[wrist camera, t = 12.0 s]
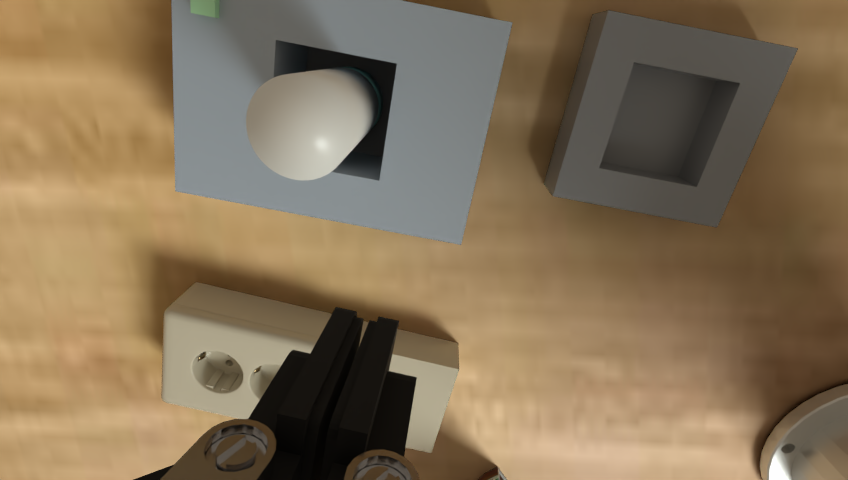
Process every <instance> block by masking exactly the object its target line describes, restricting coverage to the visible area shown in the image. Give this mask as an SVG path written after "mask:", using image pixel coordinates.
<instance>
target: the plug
mask: <svg viewBox="0 0 848 480" xmlns="http://www.w3.org/2000/svg"><path fill="white" fill-rule="evenodd" d="M382 110H383V96H382V92H381V89H380V87H379V85H378V83H377V82H376V80H375V79H374V78H373V77H372V76H371V75H370V74H369V73H367V72H366V71H364V70H362V69H360V68H357V67H351V66H345V67H337V68H329V69H322V70H314V71H307V72H299V73H291V74H285V75H280V76H277V77H274V78H272V79H270V80H268V81H267V82H265V83H264V84H263V85H262V86H260V87H259V88H258V90H257V91H256V92H255V93H254V95H253V97H252V98H251V100H250V103H249V106H248V109H247V114H246V129H247V135H248V138H249V141H250V144H251V146H252V148H253V150H254V151H255V153H256V155H257V156H258V157H259V159H260V160H261V161H262V162H263V163H264V164H265V165H266V166H267V167H268V168H270V169H271V170H272V171H274V172H275V173H277V174H279V175H281V176H284V177H286V178H289V179H294V180H301V181H303V180H314V179H318V178H321V177H323V176H325V175H327V174H329V173H330V172H332V171H333V170H334V169H335V168H337V166H338V165H339V164H340V163H341V162H342V161H343V160H344V159H345V158H346V156H347V155H348V154H349V153H350V152H351V151H352V150H353V149H354V148H355V147H356V145H357V144H358V143H359V142H360V141H361V140H362V139H363V138H364V137H365V135H366V134H367V133H368V132H369V131H370V130H371V129H372V128H373V127H374V126H375V124H376V123H377V122H378V120H379V118H380V116H381V113H382Z"/></svg>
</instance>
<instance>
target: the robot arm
mask: <svg viewBox="0 0 848 480" xmlns="http://www.w3.org/2000/svg"><path fill="white" fill-rule="evenodd" d="M398 324H399V321H397V320H392V319H388V318H383V317H378V320H377V322H376V321H371V320H369V323H368V325H367V328H366V330H365V333H364V335H363V338H362V340H361V343H360V338H361V332H362V327H363V319H362V318H357V312H356V311H352V310H347V309H342V308H338V307H336V308H335V310H334V311H333V313H332V315H331V317H330V319H329V320H328V322H327V324H326V326H325V328H324V330H323V331H322V333H321V335H320V337H319V339H318V340H317V342H316V344H315V346H314V348H313V350H312V351H311V353H306V352H301V351H297V350H292V351H291V352H290V353H289V354H288V356H287V357H286V359H285V361H284V362H283V364H282V365H281V367H280V369H279V370H278V372H277V373H276V375H275V377H274V378H273V380H272V381H271V383H270V385H269V386H268V388H267V389H266V391H265V393H264V394H263V396H262V397H261V399H260V401H259V402H258V404H257V405H256V407H255V409H254V410H253V412H252V413H251V415H250V417H249V418H248V419H234V420H230V421H225V422H222V423H220V424H218V425H216V426H214V427H212V428H211V429H210V430H208V431H207V432H206V433H205V434H203V435H202V436H201V437H200V438H199V439H198V441H197V442H196V443H195V444H194V445H193V446H192V447H191V448H190V449H189V450H188V451H187V452H186V453H185V454H184V455H183V456H182V457H181V458H180V459H179V460H178V461H177V462H176V463H175V464H174V465H172V466H169V467H166V468H164V469H161V470H158V471H156V472H153V473H150V474H148V475H145V476H142V477H140V478H137V479H134V480H419V477H418V473H417V471H416V470H415V468H414V466H413V465H412V464H411V463H410V462H409V461H408V460H407V459H406V458H405V457H404V453H405V447H406V441H407V435H408V428H409V422H410V416H411V410H412V404H413V398H414V392H415V386H416V380H417V377H414V376H409V375H405V374H400V373H396V372H391V371H389V368H390V363H391V358H392V353H393V349H394V344H395V339H396V334H397V329H398ZM359 344H360V346H359ZM760 471H761V477H762V480H848V384H845V385H841V386H837V387H835V388H832V389H830V390H827V391H825V392H822V393H820V394H818V395H816V396H814V397H812V398H810V399H809V400H807V401H805V402H803V403H802V404H800V405H799V406H798V407H796V408H795V409H794V410H792V411H791V412H790V413H788V414H787V415H786V416H785V417H784V418H783V419H782V420H781V421H780V422H779V423H778V424H777V425H776V427H775V428H774V430H773V431H772V432H771V434H770V435H769V437H768V438H767V440H766V443H765V445H764V448H763V450H762V453H761V459H760Z"/></svg>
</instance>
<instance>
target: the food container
mask: <svg viewBox="0 0 848 480" xmlns="http://www.w3.org/2000/svg"><path fill="white" fill-rule="evenodd" d="M478 480H507V479H506V477H505V476H504V475H503V473H502V472H501V471H500V469H499V468H498V467H496V468H494V469H492V470H490V471H488V472H486V473H484V474H483V475H482V476H481V477H480V478H479V479H478Z"/></svg>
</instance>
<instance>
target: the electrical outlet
mask: <svg viewBox="0 0 848 480" xmlns="http://www.w3.org/2000/svg"><path fill="white" fill-rule="evenodd" d="M331 315H332V314H331V313H327V312H323V311H318V310H314V309H310V308H306V307H301V306H297V305H293V304H288V303H284V302H280V301H276V300H271V299H267V298H263V297H258V296H254V295H250V294H246V293H241V292H237V291H233V290H228V289H224V288H220V287H216V286H211V285H207V284H203V283H198V282H196V283H194V284H193V285H192V286H191V287H189V288H188V289H187V290H186V291H185V292H184V293H183V294H182V295H181V296H180V297H179V298H177V299H176V300H175V301H174V302H173V303H172V304H171V305H170V306H169V307H168V308H167V309H166V310H165V312H164V323H163V357H162V391H161V398H162V400H163V401H164V402H166V403H170V404H174V405H179V406H183V407H188V408H192V409H197V410H202V411H206V412H211V413H215V414H220V415H224V416H229V417H233V418H238V419H248V418H249V417H250V415H251V413H252V412H253V410H254V409H255V407H256V405H257V404H258V402H259V401H260V399H261V397H262V396H263V394H264V393H265V391H266V389H267V388H268V386H269V385H270V383H271V381H272V380H273V378H274V377H275V375H276V373H277V372H278V370H279V369H280V367H281V365H282V364H283V362H284V361H285V359H286V357H287V356H288V354H289V353H290V352H291V351H292V350H297V351H301V352H306V353H311V351H312V350H313V348H314V346H315V344H316V342H317V340H318V339H319V337H320V335H321V333H322V331H323V330H324V328H325V326H326V324H327V322H328V320H329V319H330V317H331ZM368 323H369V322H366V321H363V327H362V332H361V338H360V343H361V340H362V338H363V335H364V333H365V330H366V328H367V325H368ZM359 346H360V344H359ZM389 371H391V372H396V373H400V374H405V375H409V376H414V377H417V380H416V386H415V392H414V398H413V404H412V410H411V416H410V422H409V428H408V435H407V441H406V447H405V448H410V449H414V450H419V451H423V452H428V453H431V452H432V449H433V446H434V443H435V440H436V437H437V434H438V431H439V428H440V425H441V422H442V419H443V416H444V413H445V410H446V407H447V404H448V401H449V398H450V395H451V392H452V389H453V386H454V383H455V380H456V377H457V374H458V371H459V350H458V343H456V342H451V341H447V340H443V339H439V338H434V337H430V336H426V335H421V334H417V333H413V332H408V331H404V330H400V329H397V334H396V339H395V344H394V349H393V353H392V358H391V363H390V368H389Z"/></svg>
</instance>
